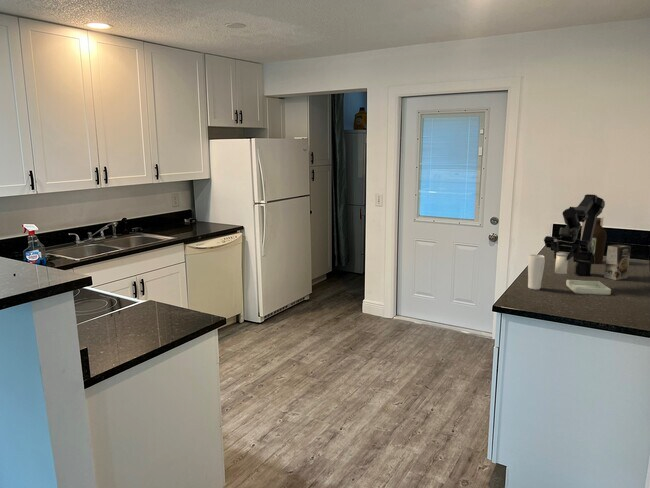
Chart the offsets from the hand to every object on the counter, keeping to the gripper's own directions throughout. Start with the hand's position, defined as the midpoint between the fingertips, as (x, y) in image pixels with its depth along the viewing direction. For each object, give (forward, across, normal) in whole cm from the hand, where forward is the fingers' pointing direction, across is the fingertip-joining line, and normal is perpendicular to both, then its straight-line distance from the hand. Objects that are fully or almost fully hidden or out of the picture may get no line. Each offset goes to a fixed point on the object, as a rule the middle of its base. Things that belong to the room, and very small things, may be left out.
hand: (561, 258), depth 223 cm
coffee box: (-18, +14, +37) cm, 43 cm away
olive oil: (-39, -4, +59) cm, 71 cm away
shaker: (+4, 0, +6) cm, 7 cm away
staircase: (-63, -15, +84) cm, 106 cm away
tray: (+6, +11, +13) cm, 18 cm away
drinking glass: (+16, -8, +4) cm, 18 cm away
